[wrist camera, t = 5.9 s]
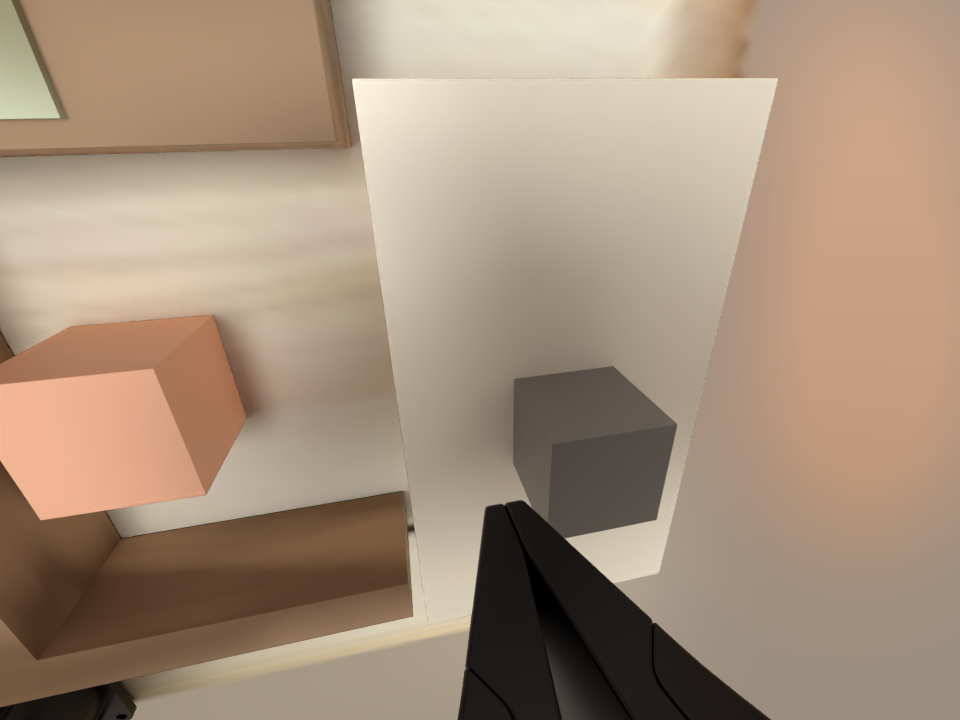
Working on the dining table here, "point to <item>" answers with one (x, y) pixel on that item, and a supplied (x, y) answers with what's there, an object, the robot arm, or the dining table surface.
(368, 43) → the dining table surface
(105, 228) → the dining table surface
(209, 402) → the block
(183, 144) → the brown shallow open box
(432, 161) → the cover
